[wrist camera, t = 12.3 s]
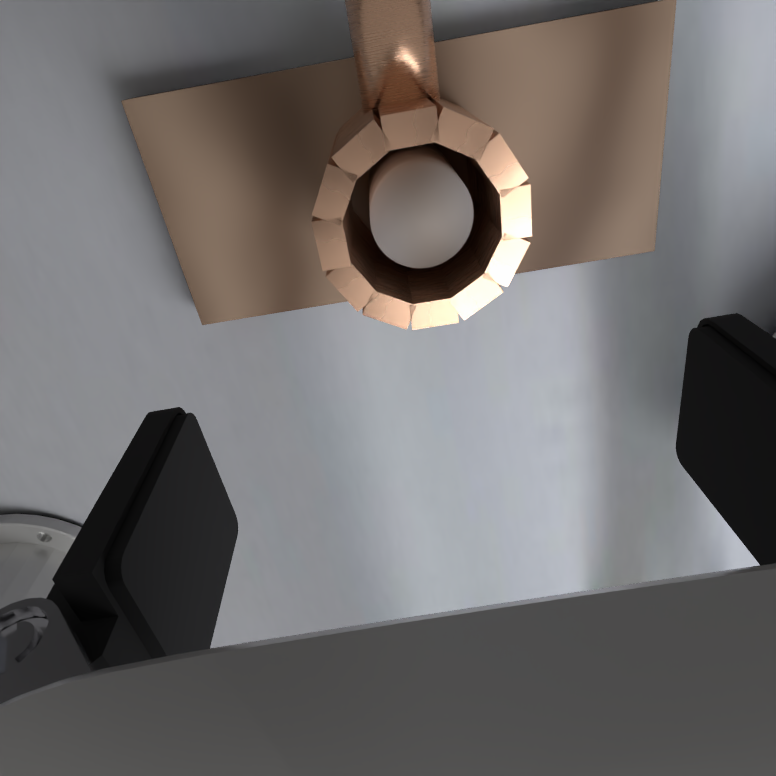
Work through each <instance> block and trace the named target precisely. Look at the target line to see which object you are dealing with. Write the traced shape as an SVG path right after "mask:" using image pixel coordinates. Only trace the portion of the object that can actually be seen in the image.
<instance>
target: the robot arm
mask: <svg viewBox="0 0 776 776" xmlns="http://www.w3.org/2000/svg"><path fill="white" fill-rule="evenodd" d="M676 452H677V456H678V459H679V461H680V463H681V465H682V466H683V467H684V469H685V470H686V471H687V473H688V474H689V475H690V476H691V478H692V479H693V480H694V481H695V483H696V484H697V485H698V487H699V488H700V489H701V490H702V492H703V493H704V494H705V495H706V497H707V498H708V499H709V501H710V502H711V503H712V504H713V506H714V507H715V508H716V509H717V511H718V512H719V513H720V514H721V516H722V517H723V518H724V520H725V521H726V522H727V523H728V525H729V526H730V527H731V528H732V530H733V531H734V532H735V534H736V535H737V536H738V537H739V539H740V540H741V541H742V542H743V544H744V545H745V546H746V548H747V549H748V550H749V551H750V553H751V554H752V555H753V556H754V558H755V559H756V560H757V562H758V563H759V564H760V566H753V567H746V568H739V569H733V570H726V571H719V572H712V573H705V574H698V575H691V576H684V577H677V578H670V579H663V580H656V581H649V582H642V583H636V584H629V585H622V586H615V587H608V588H601V589H594V590H588V591H581V592H574V593H568V594H561V595H554V596H547V597H541V598H534V599H527V600H521V601H514V602H507V603H501V604H494V605H487V606H481V607H474V608H467V609H461V610H454V611H448V612H441V613H434V614H428V615H421V616H414V617H408V618H401V619H395V620H389V621H382V622H376V623H369V624H363V625H356V626H350V627H344V628H337V629H331V630H324V631H318V632H312V633H305V634H299V635H292V636H286V637H279V638H273V639H267V640H260V641H254V642H248V643H242V644H235V645H229V646H223V647H217V648H211V649H210V645H211V641H212V637H213V633H214V629H215V625H216V621H217V617H218V613H219V609H220V604H221V600H222V596H223V592H224V588H225V584H226V580H227V576H228V572H229V568H230V564H231V560H232V555H233V551H234V547H235V543H236V539H237V535H238V522H237V517H236V514H235V512H234V509H233V507H232V505H231V502H230V500H229V497H228V495H227V492H226V490H225V487H224V485H223V483H222V480H221V478H220V475H219V473H218V470H217V468H216V465H215V463H214V460H213V458H212V456H211V453H210V451H209V448H208V446H207V443H206V441H205V438H204V436H203V434H202V431H201V429H200V426H199V424H198V421H197V419H196V417H195V416H194V414H192V413H187V414H186V413H185V411H184V410H183V409H182V408H180V407H177V408H171V409H165V410H159V411H154V412H149V413H148V414H147V415H146V417H145V419H144V420H143V422H142V424H141V425H140V427H139V429H138V431H137V432H136V434H135V436H134V438H133V439H132V441H131V443H130V445H129V446H128V448H127V450H126V452H125V453H124V455H123V457H122V458H121V460H120V462H119V464H118V465H117V467H116V469H115V471H114V472H113V474H112V476H111V478H110V479H109V481H108V483H107V485H106V486H105V488H104V490H103V491H102V493H101V495H100V497H99V498H98V500H97V502H96V504H95V505H94V507H93V509H92V511H91V512H90V514H89V516H88V518H87V519H86V521H85V523H84V524H83V526H82V527H79V526H77V525H74V524H71V523H68V522H65V521H62V520H59V519H55V518H50V517H44V516H39V515H27V514H7V515H0V776H776V338H774V337H773V336H771V335H770V334H768V333H767V332H765V331H764V330H762V329H761V328H759V327H758V326H757V325H755V324H754V323H752V322H751V321H749V320H748V319H746V318H745V317H743V316H742V315H740V314H737V313H736V314H729V315H723V316H717V317H711V318H705V319H703V320H701V321H700V323H699V325H698V327H697V328H693V329H692V330H691V332H690V333H689V338H688V346H687V355H686V363H685V372H684V380H683V389H682V397H681V406H680V415H679V423H678V432H677V440H676Z"/></svg>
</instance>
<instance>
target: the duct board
mask: <svg viewBox="0 0 776 776" xmlns="http://www.w3.org/2000/svg"><path fill="white" fill-rule="evenodd" d="M675 10H676V0H659V1H654V2H648V3H643V4H638V5H632V6H627V7H621V8H616V9H611V10H605V11H600V12H594V13H589V14H584V15H578V16H573V17H567V18H562V19H557V20H551V21H546V22H540V23H535V24H530V25H524V26H519V27H513V28H508V29H503V30H497V31H492V32H486V33H481V34H476V35H470V36H465V37H459V38H454V39H449V40H443V41H438V42H434V44H435V54H436V64H437V74H438V84H439V94H440V98H442V99H444V100H446V101H449V102H451V103H453V104H456V105H458V106H460V107H462V108H463V109H465V110H466V111H468V112H470V113H471V114H473V115H474V116H476V117H477V118H479V119H480V120H482V121H483V122H485V123H486V124H488V125H489V126H491V127H492V128H494V130H495V131H497V132H498V133H500V135H501V136H502V138H503V139H504V141H505V142H506V144H507V145H508V147H509V148H510V150H511V152H512V153H513V155H514V156H515V158H516V159H517V161H518V162H519V164H520V165H521V167H522V168H523V170H524V172H525V173H526V175H527V176H528V179H527V180H526V181H527V182H528V183H529V184H531V217H532V236H530V237H526V238H527V239H528V240H529V241H530V245H529V247H528V249H527V250H526V252H525V254H524V256H523V258H522V260H521V262H520V264H519V266H518V268H517V270H516V272H515V274H517V273H523V272H529V271H535V270H541V269H547V268H553V267H560V266H566V265H572V264H578V263H584V262H590V261H596V260H602V259H608V258H615V257H621V256H627V255H633V254H639V253H645V252H651V251H654V250H655V239H656V227H657V216H658V204H659V193H660V181H661V170H662V158H663V147H664V136H665V124H666V113H667V101H668V90H669V78H670V67H671V55H672V44H673V33H674V21H675ZM122 104H123V107H124V110H125V113H126V115H127V118H128V121H129V124H130V126H131V129H132V132H133V135H134V137H135V140H136V143H137V146H138V148H139V151H140V154H141V157H142V160H143V162H144V165H145V168H146V171H147V173H148V176H149V179H150V182H151V184H152V187H153V190H154V193H155V196H156V198H157V201H158V204H159V207H160V209H161V212H162V215H163V218H164V220H165V223H166V226H167V229H168V231H169V234H170V237H171V240H172V243H173V245H174V248H175V251H176V254H177V256H178V259H179V262H180V265H181V267H182V270H183V273H184V276H185V279H186V281H187V284H188V287H189V290H190V292H191V295H192V298H193V301H194V303H195V306H196V309H197V312H198V314H199V317H200V320H201V323H202V325H205V324H211V323H218V322H224V321H230V320H236V319H242V318H248V317H254V316H260V315H266V314H273V313H279V312H285V311H291V310H297V309H303V308H309V307H315V306H321V305H328V304H334V303H340V302H346V301H347V300H346V298H345V297H344V296H343V295H342V294H341V293H340V292H339V291H338V290H337V289H336V288H335V287H334V285H333V284H332V283H331V282H330V281H329V280H328V279H327V278H326V271H322V266H321V262H320V258H319V253H318V249H317V245H316V240H315V236H314V231H313V227H312V223H311V222H312V218H313V216H312V212H313V209H314V206H315V202H316V199H317V195H318V192H319V189H320V185H321V182H322V179H323V175H324V172H325V169H326V165H327V162H328V159H329V156H330V152H331V149H332V146H333V143H334V140H335V136H336V133H337V134H338V132H339V128H340V127H342V126H343V125H344V124H345V123H346V122H347V121H348V120H349V119H350V118H351V117H352V116H353V115H355V114H356V113H357V112H358V111H359V110H360V109H361V108H362V101H361V95H360V89H359V83H358V77H357V71H356V65H355V59H354V57H351V58H346V59H341V60H335V61H330V62H324V63H319V64H314V65H308V66H303V67H297V68H292V69H287V70H281V71H276V72H270V73H265V74H260V75H254V76H249V77H243V78H238V79H233V80H227V81H222V82H216V83H211V84H206V85H200V86H195V87H189V88H184V89H179V90H173V91H168V92H162V93H157V94H152V95H146V96H141V97H135V98H131V99H127V100H123V101H122ZM351 201H352V206H353V211H354V212H355V213H356V214H357V216H358V217H359V218H360V219H361V220H362V222H363V223H364V224H365V225H366V226H367V228H368V229H369V230H370V231H371V232H372V234H373V237H374V239H375V241H376V243H377V245H378V246H379V248H380V249H381V250H382V252H383V253H384V254H385V255H386V256H388V257H389V258H390V259H391V260H393V261H395V262H396V263H399V264H401V265H403V266H407V267H412V268H428V267H433V266H436V265H439V264H441V263H443V262H445V261H447V260H448V259H450V258H451V257H453V256H454V255H455V254H456V253H457V252H458V251H459V250H460V249H461V248H462V246H463V245H464V244H465V242H466V240H467V238H468V236H469V234H470V231H471V228H472V224H473V217H474V214H473V203H472V199H471V196H470V194H469V183H468V171H467V159H466V156H465V155H464V154H462V153H459V152H457V151H454V150H452V149H450V148H447V147H445V146H442V145H440V144H438V143H429V144H423V145H418V146H412V147H406V148H401V149H395V150H390V151H389V152H388V153H387V154H386V155H384V156H383V157H382V158H381V159H380V160H379V161H378V162H376V163H375V164H374V165H373V166H372V167H371V168H370V169H368V170H367V171H366V172H365V173H364V174H363V175H362V176H360V177H359V178H358V179H357V180H356V182H355V185H354V188H353V191H352V194H351Z"/></svg>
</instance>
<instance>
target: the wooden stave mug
mask: <svg viewBox="0 0 776 776" xmlns="http://www.w3.org/2000/svg"><path fill="white" fill-rule="evenodd" d="M345 4H346V10H347V16H348V22H349V28H350V35H351V41H352V47H353V53H354V59H355V65H356V71H357V77H358V83H359V89H360V95H361V101H362V108H361V109H360V110H359V111H358V112H357V113H356V114H355V115H353V116H352V117H351V118H350V119H349V120H348V121H347V122H346V123H345V124H344V125H343V126H342V127H340V128H339V132H338V134H337V133H336V136H335V140H334V143H333V146H332V149H331V152H330V156H329V159H328V162H327V165H326V169H325V172H324V175H323V179H322V182H321V185H320V189H319V192H318V195H317V199H316V202H315V206H314V209H313V212H312V216H313V218H312V222H311V223H312V227H313V231H314V236H315V240H316V245H317V249H318V253H319V258H320V262H321V266H322V271H326V278H327V279H328V280H329V281H330V282H331V283H332V284H333V285H334V287H335V288H336V289H337V290H338V291H339V292H340V293H341V294H342V295H343V296H344V297H345V298H346V300H347V301H348V302H349V303H350V304H351V305H352V306H353V307H354V308H355V309H356V310H357V312H358V311H359V310H360V309H362V308H363V315H364V316H367V317H370V318H373V319H376V320H379V321H382V322H385V323H388V324H391V325H394V326H397V327H400V328H403V329H406V330H407V327H408V325H409V323H410V321H411V324H412V330H416V329H422V328H428V327H435V326H441V325H447V324H453V323H459V321H458V313H459V314H460V316H461V317H462V318H463V319H464V320H465V319H467V318H468V317H470V316H471V315H472V314H474V313H475V312H477V311H478V310H479V309H481V308H482V307H483V306H485V305H486V304H488V303H489V302H490V301H492V300H493V299H495V298H496V297H497V296H499V295H500V294H501V293H503V290H502V289H501V287H500V285H503V286H506V287H508V286H509V284H510V282H511V280H512V278H513V276H514V274H515V272H516V270H517V268H518V266H519V264H520V262H521V260H522V258H523V256H524V254H525V252H526V250H527V249H528V247H529V245H530V241H529V240H528V239H527V238H526V237H530V236H532V217H531V184H529V183H528V182H527V181H526V180H527V179H528V176H527V175H526V173H525V172H524V170H523V168H522V167H521V165H520V164H519V162H518V161H517V159H516V158H515V156H514V155H513V153H512V152H511V150H510V148H509V147H508V145H507V144H506V142H505V141H504V139H503V138H502V136H501V135H500V133H498V132H497V131H495V130H494V128H492V127H491V126H489V125H488V124H486V123H485V122H483V121H482V120H480V119H479V118H477V117H476V116H474V115H473V114H471V113H470V112H468V111H466V110H465V109H463V108H462V107H460V106H458V105H456V104H453V103H451V102H449V101H446V100H444V99H442V98H440V94H439V84H438V74H437V64H436V54H435V44H434V34H433V24H432V14H431V4H430V0H345ZM429 143H438V144H440V145H442V146H445V147H447V148H450V149H452V150H454V151H457V152H459V153H462V154H464V155H465V156H466V159H467V171H468V183H469V194H470V196H471V199H472V203H473V214H474V217H473V224H472V228H471V231H470V234H469V236H468V238H467V240H466V242H465V244H464V245H463V246H462V248H461V249H460V250H459V251H458V252H457V253H456V254H455V255H454V256H453V257H451V258H450V259H448V260H447V261H445V262H443V263H441V264H439V265H436V266H433V267H428V268H412V267H407V266H403V265H401V264H399V263H396V262H395V261H393V260H391V259H390V258H389V257H388V256H386V255H385V254H384V253H383V252H382V250H381V249H380V248H379V246H378V245H377V243H376V241H375V239H374V237H373V234H372V232H371V231H370V230H369V229H368V228H367V226H366V225H365V224H364V223H363V222H362V220H361V219H360V218H359V217H358V216H357V214H356V213H355V212H354V211H353V206H352V201H351V194H352V191H353V188H354V185H355V182H356V180H357V179H358V178H359V177H360V176H362V175H363V174H364V173H365V172H366V171H367V170H368V169H370V168H371V167H372V166H373V165H374V164H375V163H376V162H378V161H379V160H380V159H381V158H382V157H383V156H384V155H386V154H387V153H388V152H389V151H390V150H395V149H401V148H406V147H412V146H418V145H423V144H429ZM499 284H500V285H499Z"/></svg>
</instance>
